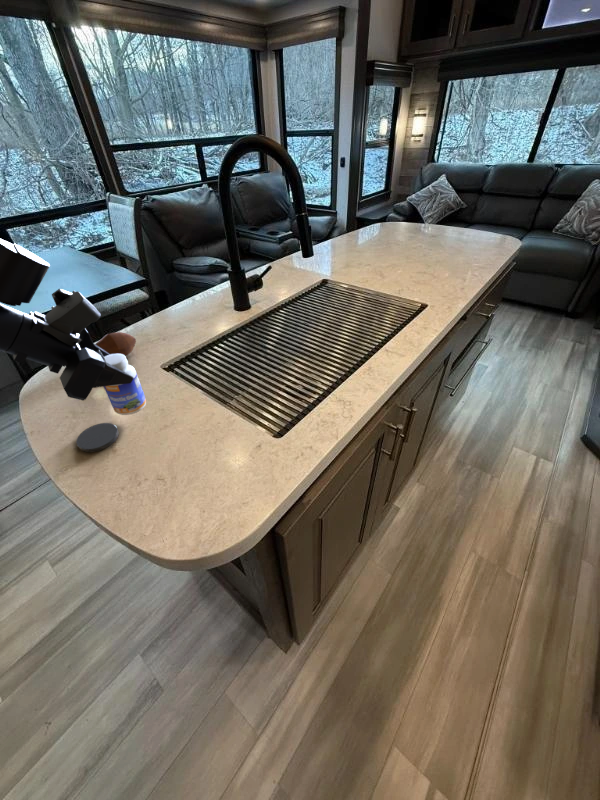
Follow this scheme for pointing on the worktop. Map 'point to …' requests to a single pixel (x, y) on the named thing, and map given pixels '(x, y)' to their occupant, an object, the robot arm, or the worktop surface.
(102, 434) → the coaster
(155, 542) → the worktop surface
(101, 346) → the potato
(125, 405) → the pill bottle
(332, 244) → the worktop surface
